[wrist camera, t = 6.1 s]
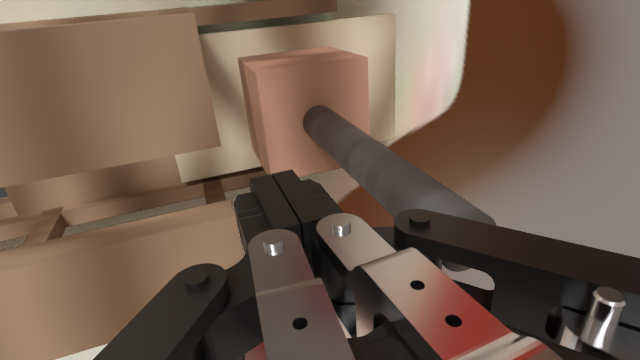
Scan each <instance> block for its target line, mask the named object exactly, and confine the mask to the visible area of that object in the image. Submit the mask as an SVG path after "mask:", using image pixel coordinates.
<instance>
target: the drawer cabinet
mask: <svg viewBox="0 0 640 360" xmlns="http://www.w3.org/2000/svg"><path fill="white" fill-rule="evenodd" d="M331 12H337V4H336V0H264V1H253V2H242V3H231V4H219V5H208V6H197V7H186V8H175V9H164V10H152V11H141V12H130V13H119V14H108V15H97V16H86V17H74V18H63V19H52V20H41V21H30V22H19V23H7V24H0V241H5V240H9V239H14V238H18V237H23V236H27V235H28V236H27V238H26V240H25V241H24V243H23V245H22V246H21V247H17V248H13V249H8V250H4V251H0V360H54V359H58V358H61V357H64V356H68V355H71V354H74V353H78V352H81V351H84V350H87V349H91V348H94V347H97V346H101V345H104V344H107V343H110V342H111V341H112V340H113V338H114V337H115V336H116V335H117V334H118V333H119V332H120V331H121V330H122V329H123V328H124V327H125V326H126V325H127V324H128V323H129V322H130V321H131V320H132V319H133V318H134V317H135V316H136V315H137V314H138V313H139V312H140V311H141V310H142V309H143V308H144V307H145V306H146V305H147V304H148V303H149V301H150V300H151V299H152V298H153V297H154V296H155V295H156V294H157V293H158V292H159V291H160V290H161V289H162V288H163V287H164V286H165V285H166V284H167V283H168V282H169V281H170V280H171V279H172V278H173V277H174V276H175V275H176V274H177V273H179V272H180V271H182V270H184V269H186V268H188V267H190V266H193V265H197V264H203V263H212V264H217V265H219V266H221V267H222V268H224V270H226V269H228V268H230V267H232V266H234V265H235V264H237V263H238V262H239V261H240V260H241V259H242V258H243V257H244V255H243V250H242V245H241V240H240V236H239V231H238V226H237V221H236V216H235V213H234V209H233V206H232V203H231V199H230V200H226V198H225V195H224V192H227V191H232V190H236V189H241V188H246V187H250V178H253V177H258V176H263V175H267V173H266V171H265V170H264V168H263V166H261V167H256V168H251V169H247V170H242V171H237V172H232V173H227V174H223V175H218V176H213V177H208V178H203V179H198V180H194V181H189V182H184V183H182V181H181V177H180V173H179V169H178V165H177V162H176V158H175V155H178V154H183V153H189V152H194V151H199V150H205V149H210V148H215V147H221V143H220V138H219V133H218V128H217V123H216V118H215V113H214V108H213V103H212V98H211V94H210V89H209V84H208V79H207V74H206V69H205V64H204V59H203V54H202V49H201V45H200V40H199V35H198V34H205V33H215V32H224V31H233V30H242V29H251V28H261V27H270V26H279V25H288V24H297V23H307V22H316V21H325V20H332V13H331ZM200 197H205V199H206V204H207V205H203V206H199V207H194V208H190V209H185V210H181V211H177V212H172V213H168V214H163V215H159V216H154V217H150V218H146V219H141V220H137V221H132V222H128V223H123V224H119V225H115V226H110V227H106V228H101V229H97V230H92V231H88V232H84V233H79V234H75V235H70V236H66V237H62V235H63V233H64V230H65V228H66V227H68V226H73V225H77V224H82V223H86V222H91V221H96V220H100V219H105V218H109V217H114V216H118V215H123V214H127V213H132V212H136V211H141V210H146V209H150V208H155V207H159V206H164V205H168V204H173V203H177V202H182V201H186V200H191V199H196V198H200Z"/></svg>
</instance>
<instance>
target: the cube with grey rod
mask: <svg viewBox="0 0 640 360" xmlns="http://www.w3.org/2000/svg"><path fill="white" fill-rule="evenodd" d="M198 35H199V40H200V45H201V49H202V54H203V59H204V64H205V69H206V74H207V79H208V84H209V89H210V94H211V98H212V103H213V108H214V113H215V118H216V123H217V128H218V133H219V138H220V143H221V147H215V148H210V149H205V150H199V151H194V152H189V153H183V154H178V155H175V158H176V162H177V165H178V169H179V173H180V177H181V181H182V183H184V182H189V181H194V180H198V179H203V178H208V177H213V176H218V175H223V174H227V173H232V172H237V171H242V170H247V169H251V168H256V167H261V166H263V168H264V170H265V171H266V173H267V175H268V174H272V173H277V172H282V171H286V170H291V169H292V170H293V171H294V172H295V174H296V175H297V176H298V177H302V176H307V175H311V174H316V173H320V172H325V171H329V170H334V169H338V168H343V169H344V170H345V171H346V172H347V173H348V174H349V175H350V176H351V177H352V178H353V179H354V180H356V181H357V182H358V183H359V184H360V185H361V186H362V187H363V188H364V189H365V190H366V191H367V192H368V193H369V194H370V195H371V196H372V197H373V198H374V199H375V200H376V201H377V202H378V203H380V205H381V206H383V208H385V209H386V210H387V211H388V212H389V213H390V214H391V215H392V216H393V217H394V218H395V217H396V216H397V215H398V214H399V213H400V212H403V211H405V210H410V209H424V210H429V211H434V212H438V213H442V214H447V215H451V216H456V217H460V218H464V219H469V220H473V221H478V222H482V223H486V224H491V225H495V226H496V223H495V221H494V220H493V219H492V218H491V217H490V216H488V215H487V214H485V213H484V212H483V211H481V210H480V209H478V208H476V207H475V206H474V205H472V204H470V203H469V202H468V201H466V200H465V199H463V198H462V197H460V196H459V195H457V194H456V193H454V192H453V191H451V190H450V189H448V188H447V187H445V186H444V185H442V184H441V183H439V182H438V181H436V180H435V179H433V178H432V177H430V176H429V175H427V174H426V173H424V172H423V171H421V170H420V169H418V168H417V167H415V166H414V165H413V164H411V163H409V162H408V161H407V160H405V159H404V158H402V157H400V156H399V155H398V154H396V153H395V152H393V151H392V150H390V149H389V148H387V147H386V146H384V145H383V144H381V143H380V142H382V141H386V140H391V139H394V100H395V14H380V15H371V16H362V17H353V18H343V19H334V20H325V21H316V22H307V23H297V24H288V25H279V26H270V27H261V28H251V29H242V30H233V31H224V32H215V33H205V34H198ZM442 264H443V265H444V266H445V267H446V268H447V269H449V270H451V271H456V272H459V271H464V270H467V269H470V267H466V266H463V265H459V264H456V263H452V262H449V261H445V260H442Z"/></svg>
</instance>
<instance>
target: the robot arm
mask: <svg viewBox="0 0 640 360" xmlns="http://www.w3.org/2000/svg"><path fill="white" fill-rule="evenodd" d="M250 188H251V192H250V193H245V194H241V195H238V196H237V198H236V200H235V202H234V207H235V212H236V217H237V222H238V227H239V232H240V238H241V242H242V245H243V249H244V252H245V256H244V257H243V258H242V259H241V260H240V261H239V262H238V263H237V264H235V265H234V266H232V267H230V268H228V269H226V270H224V268H222V267H221V266H219V265H217V264H212V263H203V264H197V265H193V266H190V267H188V268H186V269H184V270H182V271H180V272H179V273H177V274H176V275H175V276H174V277H173V278H172V279H171V280H170V281H169V282H168V283H167V284H166V285H165V286H164V287H163V288H162V289H161V290H160V291H159V292H158V293H157V294H156V295H155V296H154V297H153V298H152V299H151V300H150V301H149V303H148V304H147V305H146V306H145V307H144V308H143V309H142V310H141V311H140V312H139V313H138V314H137V315H136V316H135V317H134V318H133V319H132V320H131V321H130V322H129V323H128V324H127V325H126V326H125V327H124V328H123V329H122V330H121V331H120V332H119V333H118V334H117V335H116V336H115V337H114V338H113V340H112V341H111V342H110V343H109V344H108V345H107V346H106V347H105V348H104V349H103V350H102V351H101V352H100V353H99V354H98V355H97V356H96V357H95V358H94V359H93V360H245V353H247V352H248V351H250V350H251V349H253V348H254V347H256V346H257V345H259V344H260V343H262V342H263V341H264V346H265V352H266V357H267V360H640V258H636V257H632V256H627V255H623V254H618V253H614V252H610V251H605V250H601V249H596V248H592V247H587V246H583V245H579V244H574V243H570V242H565V241H561V240H557V239H552V238H548V237H543V236H539V235H535V234H530V233H526V232H522V231H517V230H513V229H508V228H504V227H499V226H495V225H491V224H486V223H482V222H478V221H473V220H469V219H464V218H460V217H456V216H451V215H447V214H442V213H438V212H434V211H429V210H424V209H410V210H405V211H403V212H400V213H399V214H398V215H397V216H396V217H395V219H394V227H370V226H369V225H368V224H367V223H366V222H365V221H363V220H362V219H361V218H360V217H358V216H356V215H352V214H347V213H343V211H342V210H341V209H340V208H339V207H338V205H337V204H336V203H335V202H334V200H333V199H332V198H330V196H329V194H328V193H327V192H326V191H325V190H324V188H323V187H322V186H321V185H320V184H319V183H317V182H314V181H312V180H310V179H309V180H304V181H301V180H300V179H299V178H298V176H297V175H296V174H295V172H294V171H293V170H292V169H291V170H286V171H282V172H277V173H272V174H268V175H263V176H258V177H253V178H250ZM442 260H445V261H449V262H452V263H456V264H459V265H463V266H466V267H470V268H473V269H477V270H480V271H483V272H485V273H487V274H488V275H489V276H491V277H492V279H493V281H494V283H495V288H494V290H484V289H481V288H478V287H474V286H471V285H468V284H465V283H462V282H459V281H455V280H452V279H450V278H449V277H448V276H447V275H446V274H445V273H443V272H442V271H441V269H442Z"/></svg>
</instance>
